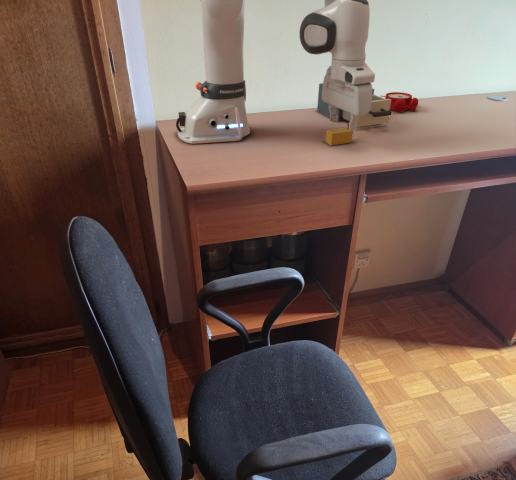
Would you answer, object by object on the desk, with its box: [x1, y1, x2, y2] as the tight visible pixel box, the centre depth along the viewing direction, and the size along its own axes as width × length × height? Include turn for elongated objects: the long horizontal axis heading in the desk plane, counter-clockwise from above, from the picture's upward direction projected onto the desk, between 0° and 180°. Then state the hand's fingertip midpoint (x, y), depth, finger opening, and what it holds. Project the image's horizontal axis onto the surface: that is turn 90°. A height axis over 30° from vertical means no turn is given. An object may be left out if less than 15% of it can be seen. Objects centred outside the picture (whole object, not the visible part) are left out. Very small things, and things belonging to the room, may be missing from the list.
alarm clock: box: [381, 91, 419, 114], centre depth 159 cm, size 10×6×15 cm
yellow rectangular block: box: [324, 127, 354, 146], centre depth 132 cm, size 7×3×3 cm, turn 113°
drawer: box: [340, 94, 393, 128], centre depth 143 cm, size 18×11×7 cm, turn 23°
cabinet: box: [316, 82, 375, 123], centre depth 153 cm, size 15×13×9 cm
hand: (342, 125), depth 130 cm, fingers open, 8 cm apart
